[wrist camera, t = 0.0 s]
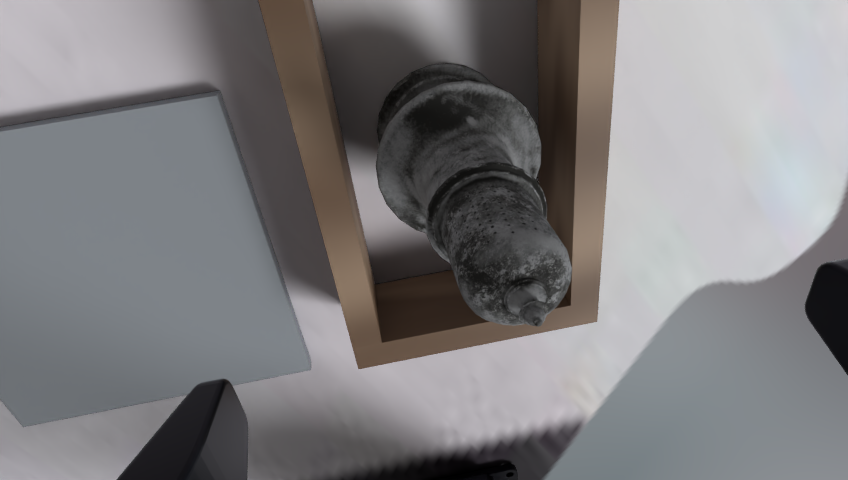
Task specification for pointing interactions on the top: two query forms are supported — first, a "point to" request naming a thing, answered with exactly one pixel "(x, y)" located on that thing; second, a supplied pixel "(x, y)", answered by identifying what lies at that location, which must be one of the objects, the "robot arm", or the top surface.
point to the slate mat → (134, 262)
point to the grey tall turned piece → (473, 190)
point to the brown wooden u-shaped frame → (558, 177)
